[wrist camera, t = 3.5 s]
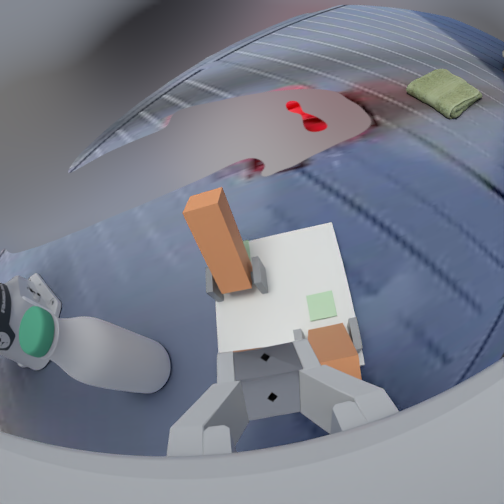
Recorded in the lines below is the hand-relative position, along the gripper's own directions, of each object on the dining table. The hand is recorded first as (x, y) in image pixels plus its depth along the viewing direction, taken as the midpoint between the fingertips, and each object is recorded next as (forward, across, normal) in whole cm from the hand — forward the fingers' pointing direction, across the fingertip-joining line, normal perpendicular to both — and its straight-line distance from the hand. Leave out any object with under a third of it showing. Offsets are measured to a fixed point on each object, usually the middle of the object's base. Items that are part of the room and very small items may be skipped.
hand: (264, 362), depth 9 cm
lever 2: (+16, -8, +12) cm, 21 cm away
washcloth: (+40, -48, -20) cm, 66 cm away
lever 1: (+24, 0, +6) cm, 25 cm away
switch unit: (+24, -5, +10) cm, 26 cm away
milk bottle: (+24, +14, +17) cm, 33 cm away
